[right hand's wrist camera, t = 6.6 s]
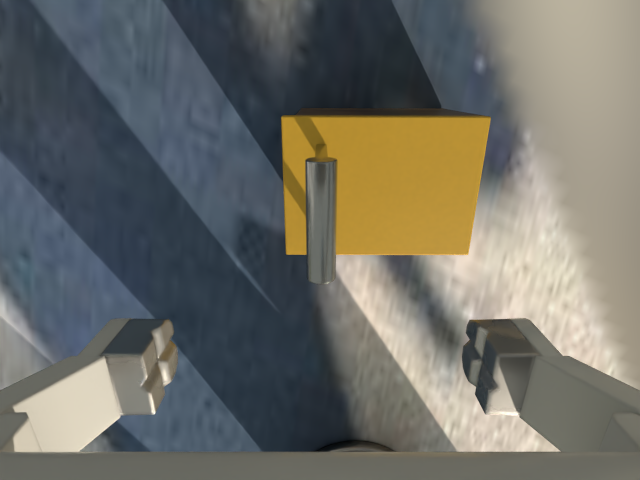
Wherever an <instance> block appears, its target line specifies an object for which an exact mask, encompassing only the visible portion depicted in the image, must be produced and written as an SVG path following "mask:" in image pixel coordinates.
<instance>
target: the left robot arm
mask: <svg viewBox="0 0 640 480" xmlns="http://www.w3.org/2000/svg"><path fill="white" fill-rule="evenodd" d="M317 452H394V451H392V450H390V449H389V448H387V447H384V446H382V445H379V444H375V443H371V442H364V441H347V442H340V443H336V444H332V445H329V446H326V447H324V448H322V449H320V450H318V451H317Z"/></svg>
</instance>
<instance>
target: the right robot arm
mask: <svg viewBox="0 0 640 480" xmlns="http://www.w3.org/2000/svg"><path fill="white" fill-rule="evenodd" d="M173 334H174V329H173V325H172V322H171V321H170V320H169V319H131V318H123V319H112V320H110V321H109V322H108V323H107V324H106V325H105V326H104V327H103V328H102V330H101V331H100V332H99V333H98V334H97V335H96V336H95V337H94V338H93V339H92V340H91V342H90V343H89V344H88V345H87V346H86V347H85V348H84V349H83V350H82V351H81V352H80V353H79V355H78V356H70V357H68V358H66V359H64V360H62V361H60V362H58V363H56V364H54V365H52V366H50V367H48V368H46V369H43V370H41V371H39V372H37V373H35V374H33V375H31V376H29V377H27V378H25V379H23V380H21V381H19V382H17V383H15V384H13V385H11V386H9V387H6V388H4V389H2V390H0V480H640V390H637V389H635V388H633V387H631V386H629V385H627V384H625V383H623V382H621V381H619V380H617V379H615V378H613V377H611V376H609V375H607V374H605V373H603V372H601V371H598V370H596V369H594V368H592V367H590V366H588V365H586V364H584V363H582V362H580V361H578V360H576V359H574V358H572V357H570V356H562V355H561V353H560V352H559V351H558V350H557V349H556V348H555V347H554V346H553V345H552V344H551V343H550V341H549V340H548V339H547V338H546V337H545V336H544V335H543V334H542V333H541V332H540V331H539V329H538V328H537V327H536V326H535V325H534V324H533V323H532V322H531V321H530V320H528V319H526V318H517V319H489V320H469V322H468V324H467V329H466V334H467V336H468V337H469V339H470V340H469V341H468V342H467V343H466V344H465V345H464V346H463V353H462V362H463V369H464V372H465V375H466V377H467V379H468V381H469V382H470V383H472V384H473V385H474V386H476V391H475V395H476V397H477V399H478V401H479V403H480V405H481V407H482V409H483V411H484V413H485V414H490V415H520V418H521V419H523V420H524V421H525V422H526V423H527V424H529V425H530V426H531V427H532V428H533V429H535V430H536V431H537V432H538V433H540V434H541V435H542V436H543V437H544V438H546V439H547V440H548V441H549V442H550V443H552V444H553V445H554V446H555V447H556V448H558V449H559V450H560V451H561V452H79V451H80V450H81V449H82V448H84V447H85V446H86V445H87V444H89V443H90V442H91V441H92V440H93V439H95V438H96V437H97V436H98V435H99V434H101V433H102V432H103V431H104V430H105V429H107V428H108V427H109V426H110V425H112V424H113V423H114V422H115V421H116V420H118V419H119V418H120V415H149V414H155V413H156V411H157V409H158V407H159V405H160V403H161V401H162V399H163V397H164V395H165V391H164V386H166V385H167V384H168V383H170V382H171V381H172V379H173V377H174V375H175V373H176V368H177V364H178V352H177V346H176V345H175V344H174V343H173V342H172V341H171V340H170V339H171V337H172V336H173Z"/></svg>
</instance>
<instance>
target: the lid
mask: <svg viewBox="0 0 640 480" xmlns="http://www.w3.org/2000/svg"><path fill="white" fill-rule="evenodd" d="M490 119H491V117H488V116H378V115H283V116H282V117H281V128H282V156H283V184H284V213H285V241H286V254H306V258H307V279H308V281H310V282H312V283H315V284H328V283H331V282H333V281H334V279H335V271H336V255H468V252H469V246H470V240H471V234H472V228H473V222H474V216H475V210H476V204H477V198H478V192H479V185H480V179H481V173H482V167H483V161H484V155H485V149H486V143H487V137H488V131H489V125H490Z"/></svg>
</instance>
